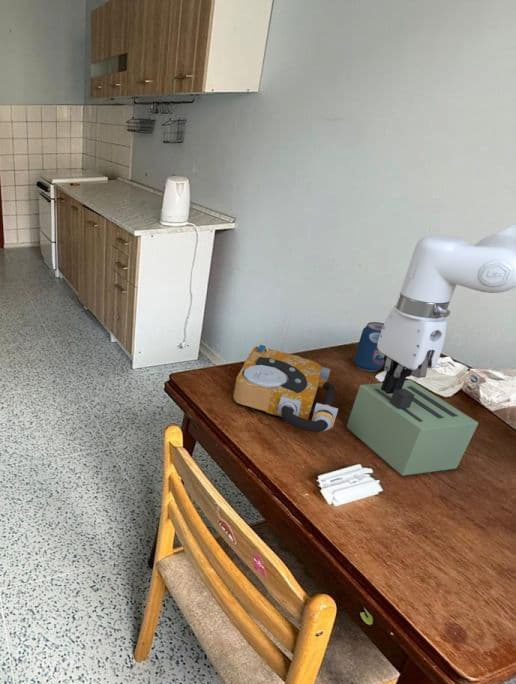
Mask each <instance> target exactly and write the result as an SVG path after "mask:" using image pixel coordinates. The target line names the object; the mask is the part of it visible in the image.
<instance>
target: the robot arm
mask: <svg viewBox="0 0 516 684" xmlns="http://www.w3.org/2000/svg"><path fill="white" fill-rule="evenodd" d="M457 286H459V287H463V288H467V289H471V290H473V291H476V292H481V293H488V294H498V293H505V292H508V291H511V290H513V289H514V288H516V223H515V224H512V225H510V226H508V227H505V228H502V229H501V230H498V231H496V232H494V233H492V234H490V235H488V236H486V237H484V238H481V239H480V240H479V241H477V242H476V243H474V245H470V242H469V241H467V240H466V239H464V238H461V237H457V236H453V235H444V234H431V235H425V236H423V237H421V238H420V239H419V240H418V241H417V242H416V244H415V246H414V250H413V253H412V256H411V259H410V262H409V265H408V268H407V271H406V273H405V277H404V280H403V283H402V286H401V289H400V292H399V295H398V297H397V300H396V304H394V305H393V307H392V308H391V309H390V311H389V313H388V315H387V317H386V319H385V321H384V326H383V328H382V330H381V333H380V336H379V339H378V343H377V348H378V349H379V350H378V354H379V355H380V356H381V357H382V358H384V372H385V375H384V379H383V380H382V383H383V384H382V387H381V390H382V391H385V393H387V394H392V393H393V392H394V390H395V389H402V387H403V385H404V382H405V380H406V379H407V378H410V377H414V378H417V379H421V378H426V377H427V373H428V372H427V371H428V369H434V368H436V366H437V365H438V362H439V360H440V357H441V354H442V350H443V347H444V344H445V341H446V340H445V339H446V335H447V329H448V319H447V317H449V316H450V315H451V311H450V310H449V309H448V308H449V305H450V303H451V300H452V298H453V295H454V292H455V291H456V288H457Z"/></svg>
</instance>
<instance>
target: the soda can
mask: <svg viewBox="0 0 516 684" xmlns="http://www.w3.org/2000/svg"><path fill="white" fill-rule="evenodd" d="M384 323H385V322H384ZM384 323H383V322H378V321H372V322H371V321H369V322H368V323H367V324H366V326H365V327H364V328H363V329H362V331H361V334H360V338H359V341H358V344H357V348H356V351H355V353H354V357H353V363H354V365H355V367H356V368H358V369H360V370H362V371H366V372H377V371H379V370H380V369H381V368H383V366H384V365H385V362H384V358H382V357H381V356H380V355H379V354H378V350H379V349H378V348H377V343H378V339H379V336H380V333H381V330H382V328H383V326H384Z"/></svg>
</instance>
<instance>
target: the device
mask: <svg viewBox="0 0 516 684" xmlns="http://www.w3.org/2000/svg"><path fill="white" fill-rule="evenodd" d="M330 373H331V368H328V367H325V366H322V365H321V364H319V363H317V362H316V361H314V360H313V359H308V358H305V357H302V356H300V355H295V354H291V353H288V352H283V351H279V350H275V349H271V348H266V345H263V344H259V346H255V347H253V349H252V351H250V354H249V355H248V356H247V358H246V360H245V361H244V363H243V366H242V367H241V369H240V371H239V372H238V374H237V376H236V380H235V385H234V390H233V400H234V401H235V402H236V403H237V404H239V405H243V406H246V407H248V408H249V407H250V408H252V409H255V410H260V411H263V412H265V413H266V414H269V415H274V416H278V417H281V418H282V419H283V420H284V421H285V422H286V423H287V424H288V425H291V426H293V427H294V428H298V429H301V430H304V431H307V432H312V433H321V432H325V431H326V432H327V431H329V430H330V429H332V428H334V425H335V421H336V418H337V415H338V411H339V408H337V407H334V406H333V401H334V398H335V393H336V388H335V385H333V384H332V383H331V382H329V377H330ZM318 388H319V389H321V390H326V392H325V396H324V398H323V399H324V400H323V403H319V402H316V404H315V405H314V402H315V399H316V395H317V391H318ZM313 405H314V406H315V407H314V409H313ZM312 409H313V413H312V416H311V417H312V418H311V420H310V419H309V418H310V414H311V412H312Z"/></svg>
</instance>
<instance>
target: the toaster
mask: <svg viewBox="0 0 516 684" xmlns="http://www.w3.org/2000/svg"><path fill="white" fill-rule="evenodd" d="M382 384H383V382H375V383H368V384H367V383H366V384H360V385H359V386H358V387H359V388H358V390H357V392H356V393H357V394H356V396H355V399H354V403H353V405H352V409H351V412H350V415H349V418H348V421H347V424H346V429H348V430H349V432H351V433H352V434H353V435H354V436H356V437H357V438H358V439H359V440H360V441H362V442H363V443H364V444H365V445H366V446H367V447H368V448H369V449H371V450H372V451H373V452H374V453H375V454H376V455H378V457H380V458H381V459H382V460H384V462H386V464H388V466H390V467H391V468H393V469H394V471H396V472H397V473H398V474H399V475H401V476H410V475H417V474H418V475H419V474H426V473H432V472H433V473H434V472H441V471H447V470H455V469H458V466H459V464H460V462H461V460H462V458H463V456H464V454H465V452H466V450H467V448H468V446H469V444H470V442H471V439H472V437H473V436H474V433H475V432H476V430H477V428H478V426H479V422H478V421H477V420H475V419H474V418H472V417H471V416H469V415H467V414H465V413H464V412H462V411H461V410H459V409H458V408H456V407H454V406H453V405H451V404H450V403H448V402H446V401H445V400H443V399H442V398H440V397H438V396H437V395H435V394H434V393H432V392H431V391H429V390H427V389H426V388H424V387H422V386H421V385H419V384H418V383H416V382H414V381H413V380H411V379H407V380H406V379H405V382H404V385H403V387H402V389H407V390H408V391H410V392H411V393H413V394H414V398H413V400H412V403H411V405H410V408H402V409H398V408H397V407H396V406H394V405H393V404H391V403H390V400H391V397H392V395H393V393H392V394H387V393H385V391H382V390H381V387H382Z"/></svg>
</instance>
